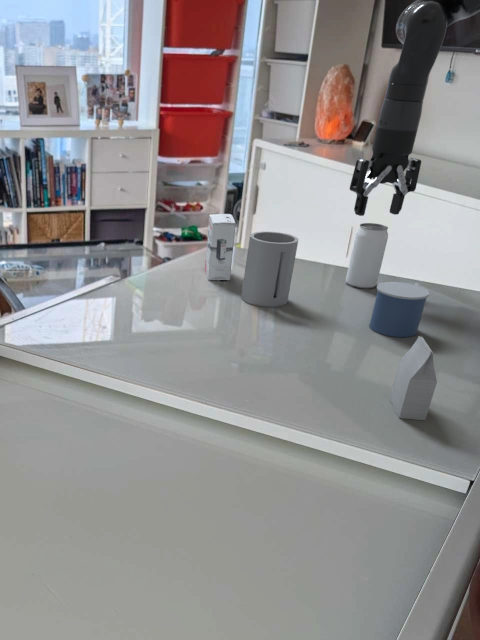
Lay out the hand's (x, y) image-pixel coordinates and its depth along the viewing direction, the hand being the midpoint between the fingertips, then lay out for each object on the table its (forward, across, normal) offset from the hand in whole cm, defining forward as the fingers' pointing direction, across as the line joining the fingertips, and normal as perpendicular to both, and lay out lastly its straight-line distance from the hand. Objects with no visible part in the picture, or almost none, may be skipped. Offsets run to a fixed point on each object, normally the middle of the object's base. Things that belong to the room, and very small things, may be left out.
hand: (376, 214), depth 155 cm
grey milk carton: (+15, -31, -54) cm, 64 cm away
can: (+15, 0, 0) cm, 15 cm away
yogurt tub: (+14, -11, -25) cm, 31 cm away
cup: (+15, -26, -4) cm, 30 cm away
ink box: (+15, -28, +13) cm, 34 cm away
